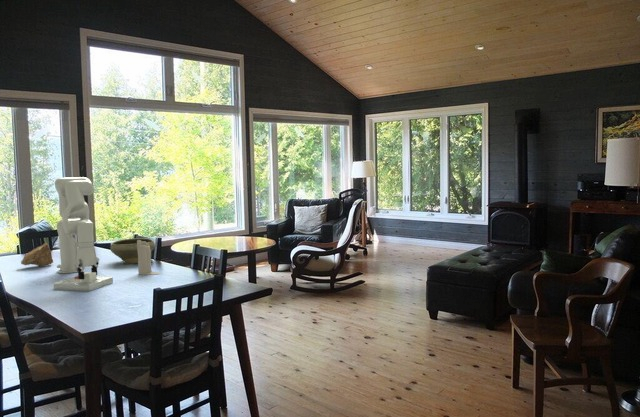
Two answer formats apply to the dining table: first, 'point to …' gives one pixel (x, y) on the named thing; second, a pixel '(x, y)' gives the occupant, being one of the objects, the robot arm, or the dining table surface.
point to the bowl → (129, 249)
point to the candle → (144, 258)
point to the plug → (89, 277)
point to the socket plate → (82, 284)
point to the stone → (38, 256)
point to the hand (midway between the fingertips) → (88, 277)
